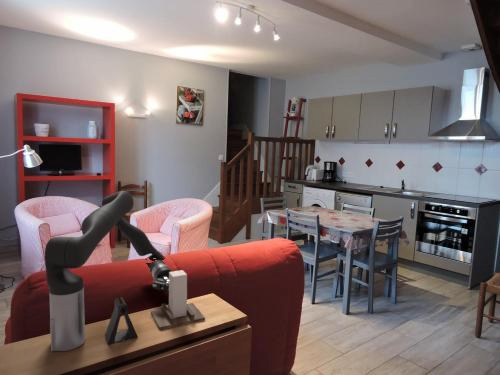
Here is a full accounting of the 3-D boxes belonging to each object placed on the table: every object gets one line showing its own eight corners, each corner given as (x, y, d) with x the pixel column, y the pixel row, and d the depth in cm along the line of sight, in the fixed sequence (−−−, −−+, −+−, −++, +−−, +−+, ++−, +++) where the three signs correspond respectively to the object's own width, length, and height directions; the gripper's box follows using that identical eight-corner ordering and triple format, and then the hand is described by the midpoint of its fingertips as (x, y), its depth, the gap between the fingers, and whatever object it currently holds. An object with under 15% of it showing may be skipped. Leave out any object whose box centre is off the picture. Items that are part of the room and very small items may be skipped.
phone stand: (133, 329, 118) (133, 294, 117) (137, 337, 113) (137, 301, 112) (104, 335, 114) (104, 300, 112) (107, 345, 108) (107, 307, 107)
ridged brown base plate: (159, 330, 118) (159, 321, 118) (150, 313, 129) (150, 305, 129) (204, 320, 126) (205, 312, 125) (192, 305, 137) (192, 297, 137)
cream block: (172, 318, 124) (173, 276, 122) (168, 312, 128) (169, 272, 126) (186, 315, 126) (187, 274, 124) (182, 309, 130) (182, 270, 129)
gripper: (146, 268, 140) (157, 283, 125) (178, 263, 146) (193, 277, 131) (146, 286, 141) (157, 304, 126) (178, 281, 147) (192, 297, 132)
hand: (175, 290), depth 128 cm, fingers closed
